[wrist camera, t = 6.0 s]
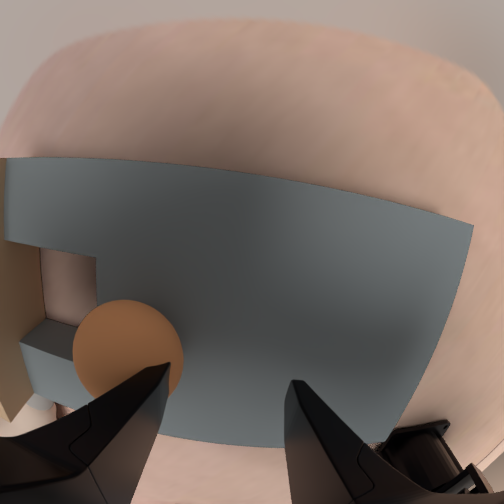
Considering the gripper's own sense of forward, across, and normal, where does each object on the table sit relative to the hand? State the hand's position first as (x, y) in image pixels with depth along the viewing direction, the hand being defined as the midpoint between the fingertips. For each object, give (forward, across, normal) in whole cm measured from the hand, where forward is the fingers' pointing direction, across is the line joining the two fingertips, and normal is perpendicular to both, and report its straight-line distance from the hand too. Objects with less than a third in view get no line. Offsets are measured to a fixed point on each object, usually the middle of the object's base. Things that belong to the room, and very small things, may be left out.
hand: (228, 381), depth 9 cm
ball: (0, +4, 0) cm, 4 cm away
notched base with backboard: (+6, +1, 0) cm, 6 cm away
